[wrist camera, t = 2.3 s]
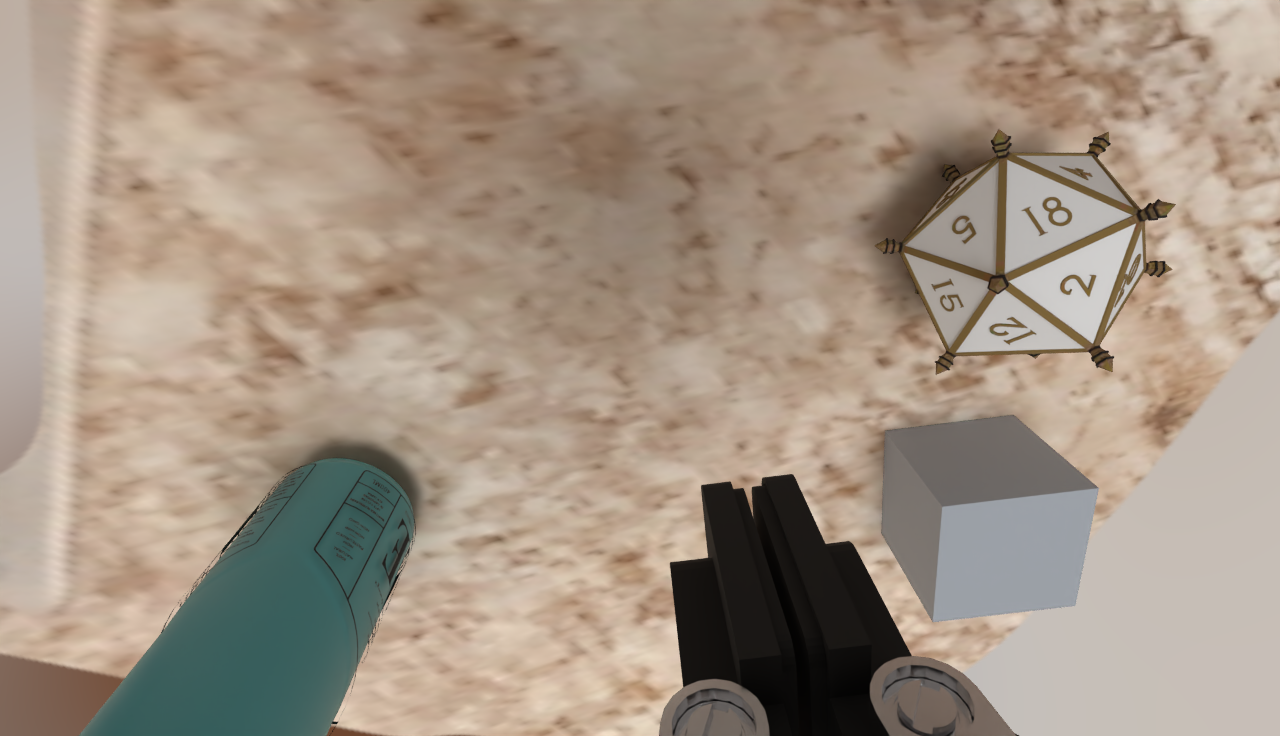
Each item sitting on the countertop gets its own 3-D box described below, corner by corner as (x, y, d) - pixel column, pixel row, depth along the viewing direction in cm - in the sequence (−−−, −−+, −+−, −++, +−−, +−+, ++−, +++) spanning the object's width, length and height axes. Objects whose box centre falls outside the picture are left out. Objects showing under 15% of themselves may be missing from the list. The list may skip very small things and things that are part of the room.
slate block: (884, 429, 31) (942, 506, 25) (1012, 414, 30) (1098, 488, 25) (880, 531, 33) (932, 622, 28) (999, 517, 33) (1075, 605, 27)
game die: (940, 170, 29) (1192, 33, 20) (1020, 340, 30) (1306, 281, 20) (794, 238, 26) (1017, 110, 17) (886, 429, 26) (1155, 407, 17)
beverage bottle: (269, 443, 30) (-283, 1023, 12) (412, 427, 30) (84, 986, 11) (314, 556, 32) (-76, 1171, 14) (446, 541, 32) (223, 1143, 14)
